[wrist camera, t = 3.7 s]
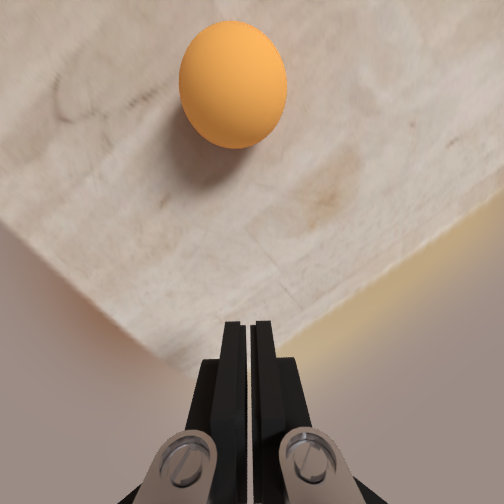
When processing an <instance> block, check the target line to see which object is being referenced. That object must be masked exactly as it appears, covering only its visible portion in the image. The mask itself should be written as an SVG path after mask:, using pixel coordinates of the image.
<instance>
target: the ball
mask: <svg viewBox="0 0 504 504" xmlns="http://www.w3.org/2000/svg"><path fill="white" fill-rule="evenodd" d="M179 92H180V99H181V102H182V106H183V109H184V111H185V114H186V116H187V117H188V119H189V121H190V122H191V124H192V125H193V127H194V128H195V129H196V130H197V132H198V133H199V134H200V135H202V136H203V137H204V138H205V139H207V140H208V141H210V142H211V143H213V144H215V145H218V146H221V147H224V148H230V149H240V148H246V147H249V146H252V145H254V144H256V143H258V142H260V141H261V140H263V139H264V138H265V137H267V136H268V135H269V134H270V133H271V131H272V130H273V129H274V128H275V126H276V125H277V123H278V121H279V119H280V117H281V115H282V113H283V109H284V106H285V102H286V96H287V79H286V73H285V68H284V65H283V62H282V59H281V57H280V55H279V53H278V51H277V49H276V48H275V46H274V45H273V43H272V42H271V41H270V40H269V39H268V37H267V36H266V35H265V34H263V33H262V32H261V31H260V30H258V29H257V28H255V27H253V26H251V25H249V24H246V23H243V22H238V21H223V22H219V23H216V24H213V25H211V26H209V27H207V28H206V29H204V30H203V31H201V32H200V33H199V34H198V35H197V36H196V37H195V38H194V39H193V40H192V42H191V43H190V45H189V46H188V48H187V50H186V52H185V54H184V57H183V60H182V63H181V67H180V72H179Z"/></svg>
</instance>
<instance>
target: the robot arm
mask: <svg viewBox="0 0 504 504" xmlns="http://www.w3.org/2000/svg"><path fill="white" fill-rule="evenodd" d="M250 333H251V399H252V448H253V449H252V451H253V496H254V504H388V503H387V502H385V501H384V500H383V499H381V498H380V497H379V496H378V495H376V494H375V493H374V492H373V491H371V490H370V489H369V488H368V487H366V486H365V485H364V484H363V483H361V482H360V481H358V480H357V479H356V478H355V477H353V476H352V474H351V472H350V470H349V468H348V465H347V463H346V461H345V459H344V457H343V455H342V453H341V451H340V449H339V448H338V446H337V445H336V443H335V442H334V441H333V440H332V439H331V438H330V437H329V436H328V435H327V434H325V433H324V432H322V431H320V430H318V429H315V428H312V425H311V421H310V417H309V413H308V409H307V405H306V401H305V397H304V393H303V389H302V385H301V381H300V377H299V373H298V369H297V365H296V361H295V359H294V357H288V358H287V357H286V358H276V353H275V347H274V340H273V334H272V327H271V321H256V325H250ZM118 504H247V352H246V325H240V321H235V322H225V327H224V333H223V340H222V346H221V353H220V359H203V360H202V363H201V367H200V371H199V375H198V379H197V383H196V387H195V391H194V395H193V399H192V403H191V407H190V411H189V415H188V419H187V423H186V427H185V431H182V432H179V433H177V434H175V435H174V436H172V437H170V438H169V439H168V440H167V441H166V442H165V443H164V444H163V445H162V446H161V447H160V449H159V450H158V452H157V454H156V455H155V457H154V459H153V461H152V463H151V465H150V468H149V470H148V472H147V474H146V476H145V478H144V480H143V482H142V484H140V485H139V486H138V487H137V488H136V489H134V490H133V491H132V492H131V493H130V494H129V495H127V496H126V497H125V498H124V499H123V500H121V501H120V502H119V503H118Z"/></svg>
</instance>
